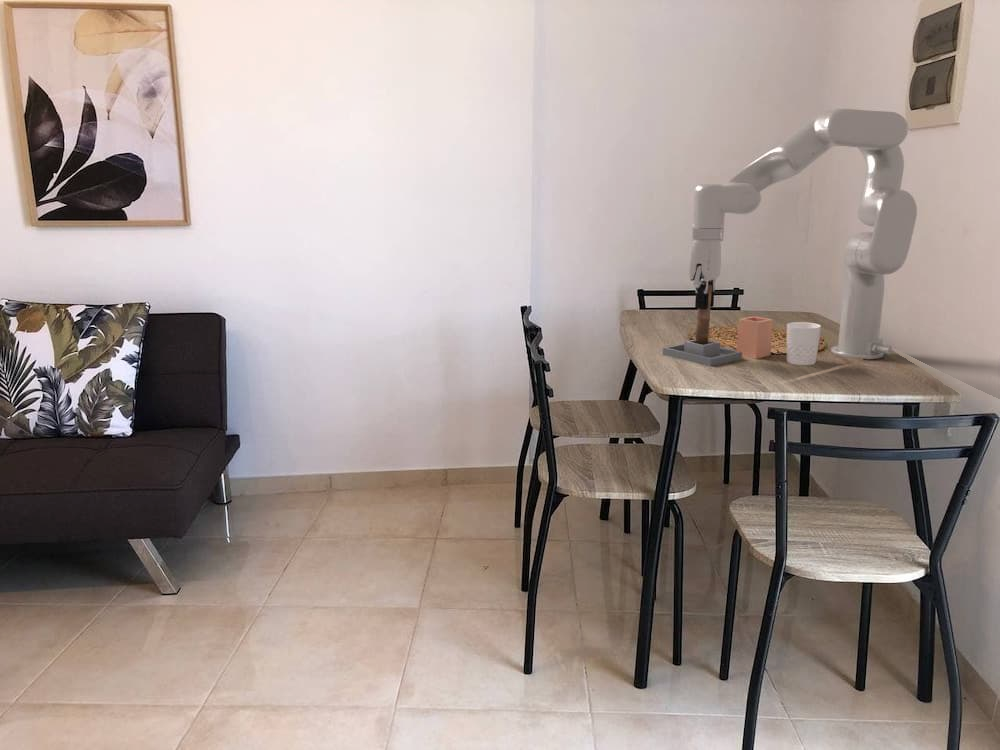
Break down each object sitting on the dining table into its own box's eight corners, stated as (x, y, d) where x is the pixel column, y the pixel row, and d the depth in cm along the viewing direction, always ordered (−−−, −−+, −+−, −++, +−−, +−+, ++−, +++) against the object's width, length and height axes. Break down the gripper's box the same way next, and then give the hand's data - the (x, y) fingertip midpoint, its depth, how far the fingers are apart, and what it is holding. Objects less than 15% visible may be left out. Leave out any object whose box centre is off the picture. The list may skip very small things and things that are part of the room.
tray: (741, 361, 201) (742, 344, 200) (710, 368, 194) (711, 350, 193) (693, 350, 214) (694, 334, 212) (662, 356, 207) (663, 340, 206)
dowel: (710, 350, 203) (714, 284, 198) (701, 351, 201) (706, 286, 197) (700, 347, 206) (704, 283, 201) (692, 349, 204) (696, 284, 199)
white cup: (801, 369, 192) (805, 329, 189) (777, 362, 199) (780, 324, 196) (824, 365, 195) (828, 326, 193) (799, 358, 202) (802, 320, 200)
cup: (770, 357, 204) (773, 319, 202) (755, 360, 201) (758, 322, 198) (751, 353, 209) (753, 316, 206) (736, 356, 206) (738, 319, 203)
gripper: (705, 232, 204) (702, 301, 209) (680, 237, 191) (677, 311, 196) (733, 232, 200) (729, 304, 205) (710, 238, 187) (706, 314, 192)
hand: (704, 307), depth 200 cm, fingers closed on dowel, 3 cm apart
